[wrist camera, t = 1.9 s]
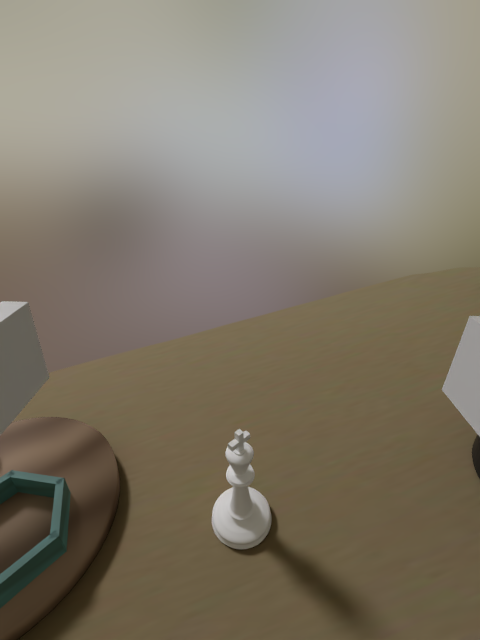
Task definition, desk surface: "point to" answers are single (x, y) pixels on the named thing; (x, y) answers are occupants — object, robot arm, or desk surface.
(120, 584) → the desk surface
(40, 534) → the carrier
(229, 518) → the chess piece
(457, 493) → the desk surface
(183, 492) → the desk surface
